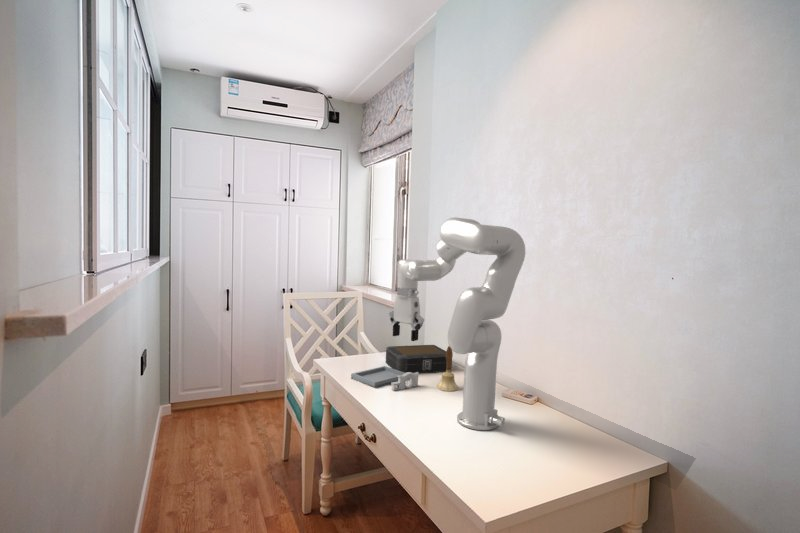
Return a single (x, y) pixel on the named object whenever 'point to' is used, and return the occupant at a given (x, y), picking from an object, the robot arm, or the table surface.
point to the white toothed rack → (403, 379)
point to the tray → (377, 376)
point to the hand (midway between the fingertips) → (405, 338)
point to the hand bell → (448, 375)
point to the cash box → (417, 358)
